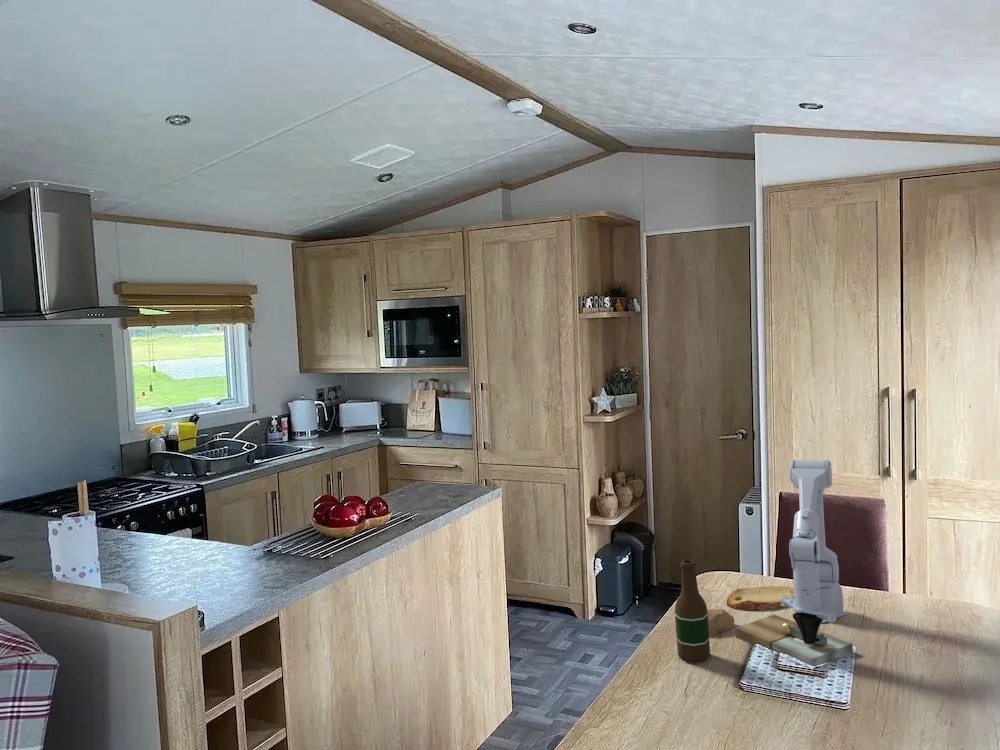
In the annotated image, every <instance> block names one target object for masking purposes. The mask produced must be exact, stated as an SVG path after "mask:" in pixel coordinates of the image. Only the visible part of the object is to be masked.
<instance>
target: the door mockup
mask: <svg viewBox="0 0 1000 750" xmlns="http://www.w3.org/2000/svg"><path fill="white" fill-rule="evenodd" d="M785 621H789V622H793V623H794V627H798V625H797V623H796V621H793V620H789V619H787V618H785V617H782V616H779V615H776V614H772V615H768V616H766V617H763V618H761V619H758V620H755V621H752V622H751V621H750V622H749V623H746V624H743V625H740V626H737V627H735V638H736V639H739V640H741V641H743V642H745V643H748V644H751V645H752V646H755V644H759V645H761V646H763V647H766V648H768V649H770V650H771V649H772V651H775V652H777V653H783V654H787V655H789V656H791V657H794V658H796V659H798V660H800V661H802V662H804V663H807V664H809V665H811V666H817V665H820V664H824V663H828V664H830V663H832V661H833V662H835V661H838V660H840V659H842V658H845V657H848V656H850V655H852V654H854V648H853V642H852V641H851V642H850V641H847V640H845V639H842V638H840V637H836V636H833V635H832V634H828V633H826V632H823V631H820V630H818V632H817V634H819V635H821V636H824V637H827V644H826V645H824V646H820V645H817V644H811V645H808V644H805V643H804V641H803V639H800V638H798V637H795V636H786V635H783V631H782V622H785ZM798 628H799V627H798ZM829 662H830V663H829Z"/></svg>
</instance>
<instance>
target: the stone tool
mask: <svg viewBox="0 0 1000 750" xmlns="http://www.w3.org/2000/svg"><path fill="white" fill-rule="evenodd" d="M707 612H708V626H709V635H712V636H715V635H716V634H718V633H722V632H724V631H726V630H730V629H732V628H733V627H734V626H735V618H734V617H733V615H731V614H729V612H728V611H727V610H726V609H724V608H707Z"/></svg>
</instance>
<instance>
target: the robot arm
mask: <svg viewBox="0 0 1000 750" xmlns="http://www.w3.org/2000/svg"><path fill="white" fill-rule="evenodd" d="M789 480H790V482H791V483H792V485H793V488H796V489H797V490H798V497H799V498H798V499H799V503H798V504H799V510H798V511H796V512H795V514H794V516H793V531H792V538H790V539H789V545H788V546H789V547H788V550H789V551H788V552H789V557H790V562H791V569H793V570H792V573H793V574H792V577H793V588H794V596H795V598H790V597H784V598H781V606H783V607H782V608H786V606H787V608H790V609H793V612H794V613H792V618H793V620H794V622H796V623H797V625H798V627H799V629H800V631H801V634H802V637H803V641H804V643H805V644H808V645H811V644H814V643H815V640H816V636H817V632H818V631H819V629H820V626H821V624H822V623H823V624H824V623H835V622H836V621H837V619H839V618H841V617H843V616H844V617H845V616H847V612H845V610H844V593H843V589H842V588H843V587H842V586H841V585H840V583H839V579H840V577H839V576H840V569H839V568H840V567H839V562H838V555H837V553H836V552H834V551H833V550H831V549H830V548H828V547H827V545H826V531H825V529H826V527H825V515H824V514H825V513H824V512H825V511H824V509H825V508H824V492H825V489H828V488H831V487H832V485H833V471H832V463H831V461H830V460H829V459H824V460H823V459H821V460H820V459H819V460H817V459H815V460H814V459H812V460H811V459H810V460H809V459H806V460H805V459H804V460H803V459H802V460H801V459H799V460H798V459H792V460H791V461H790V462H789Z"/></svg>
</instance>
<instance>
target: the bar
mask: <svg viewBox="0 0 1000 750" xmlns="http://www.w3.org/2000/svg"><path fill="white" fill-rule="evenodd" d="M793 622H794V621H793ZM793 622H789V621H785V622H782V631H783V635H786V636H795V637H798V638H800V639H803V637H802V634H801V631H800V629H799V628H798V627H794V623H793ZM814 644H817V645H820V646H824V645H826V644H827V637H824V636H821V635H819V634H817V636H816V640H815V643H814Z"/></svg>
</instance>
